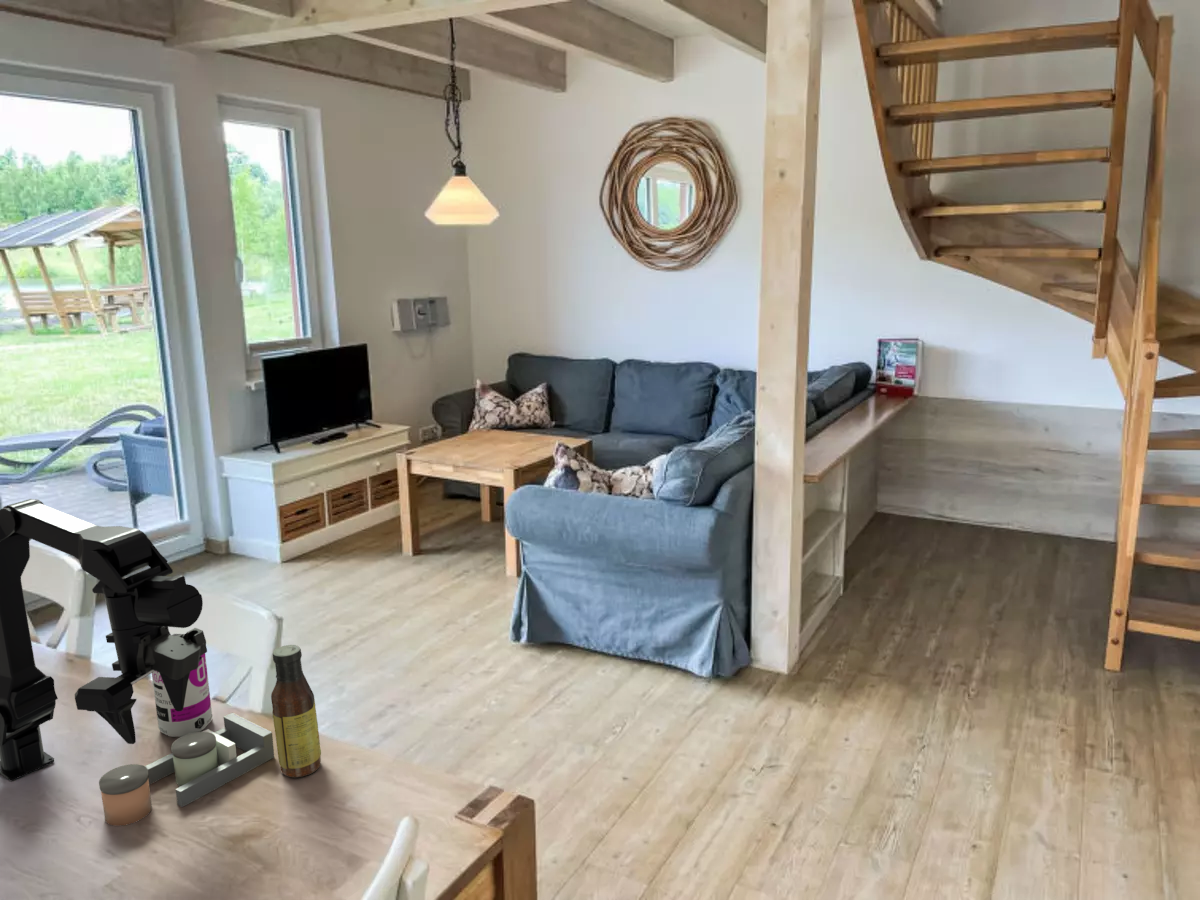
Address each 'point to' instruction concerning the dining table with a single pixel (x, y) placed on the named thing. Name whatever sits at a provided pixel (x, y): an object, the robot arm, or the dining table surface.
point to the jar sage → (194, 756)
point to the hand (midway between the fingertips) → (156, 726)
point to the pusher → (224, 749)
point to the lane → (245, 738)
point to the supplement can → (195, 704)
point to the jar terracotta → (125, 794)
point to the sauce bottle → (294, 715)
